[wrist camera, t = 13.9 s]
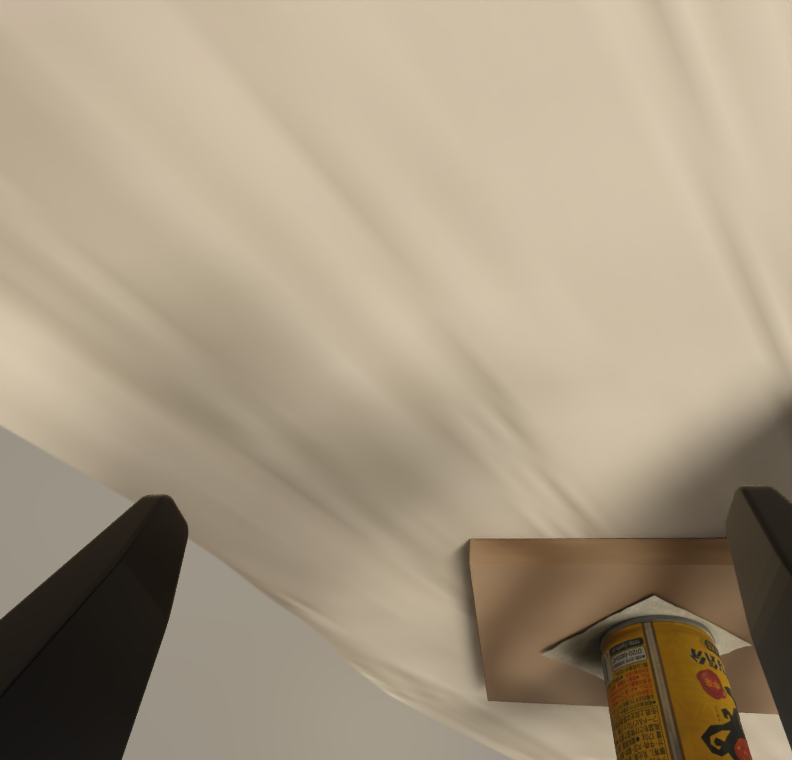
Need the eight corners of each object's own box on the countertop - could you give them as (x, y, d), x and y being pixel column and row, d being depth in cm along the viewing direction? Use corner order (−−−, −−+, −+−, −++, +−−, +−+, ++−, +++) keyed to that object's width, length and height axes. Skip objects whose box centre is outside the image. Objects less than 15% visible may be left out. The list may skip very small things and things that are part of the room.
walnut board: (852, 538, 28) (867, 565, 27) (771, 689, 38) (780, 714, 37) (469, 539, 31) (469, 563, 30) (487, 678, 41) (487, 700, 40)
